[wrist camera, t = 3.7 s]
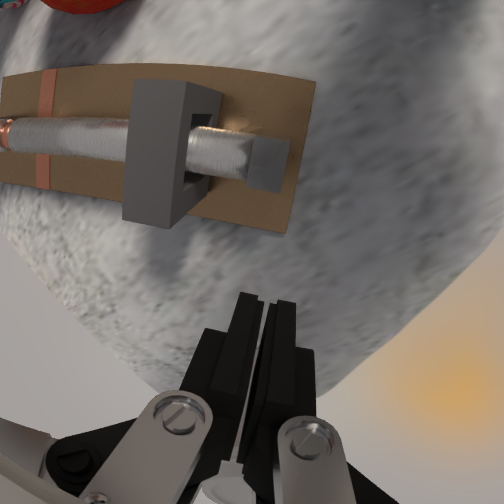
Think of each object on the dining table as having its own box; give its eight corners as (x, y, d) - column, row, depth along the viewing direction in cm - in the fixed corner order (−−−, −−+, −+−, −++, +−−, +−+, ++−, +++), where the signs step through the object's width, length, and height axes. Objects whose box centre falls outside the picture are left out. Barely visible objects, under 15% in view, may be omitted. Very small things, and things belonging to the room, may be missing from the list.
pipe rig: (315, 82, 21) (322, 69, 15) (285, 231, 26) (281, 267, 20) (6, 77, 23) (-38, 79, 17) (2, 180, 28) (-39, 196, 22)
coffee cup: (328, 389, 32) (331, 512, 19) (248, 403, 35) (224, 516, 21) (304, 323, 29) (300, 465, 16) (212, 344, 32) (166, 470, 18)
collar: (222, 92, 21) (186, 81, 14) (207, 195, 25) (169, 229, 17) (183, 88, 22) (134, 78, 14) (171, 188, 25) (122, 219, 18)
